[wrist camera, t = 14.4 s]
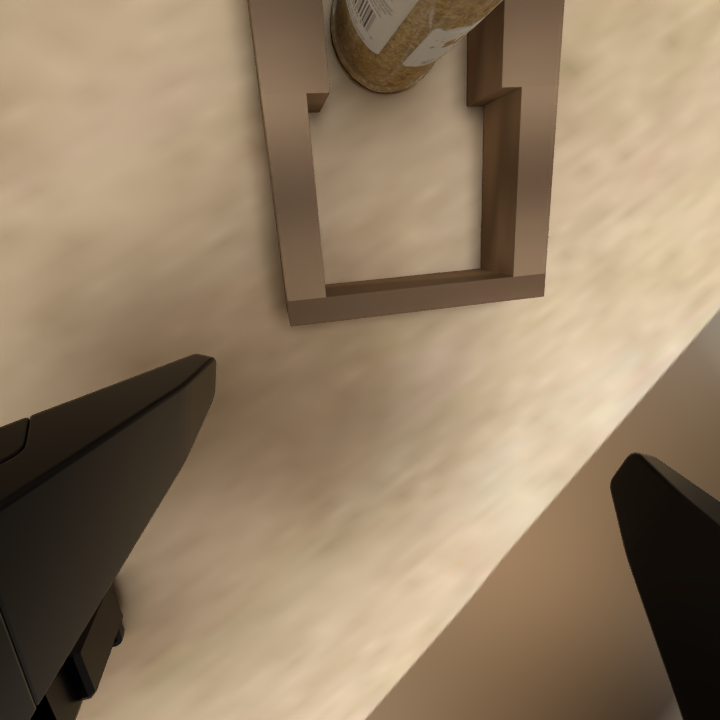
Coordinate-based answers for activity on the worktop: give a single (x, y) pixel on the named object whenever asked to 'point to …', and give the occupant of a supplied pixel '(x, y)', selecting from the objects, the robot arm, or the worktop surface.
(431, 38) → the sprinkles bottle
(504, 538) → the worktop surface
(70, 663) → the robot arm
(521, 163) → the frame
